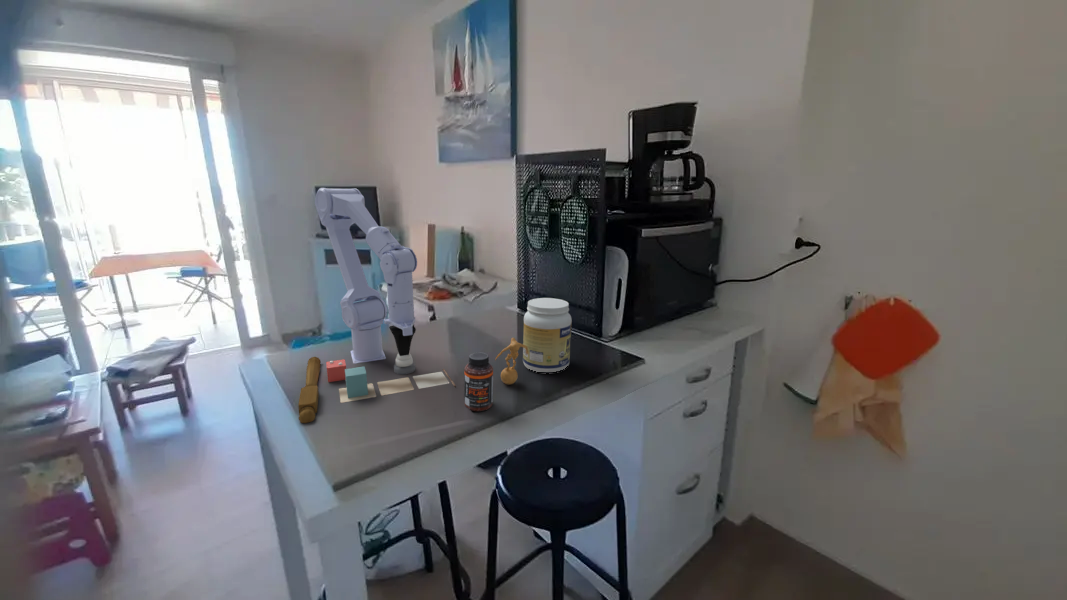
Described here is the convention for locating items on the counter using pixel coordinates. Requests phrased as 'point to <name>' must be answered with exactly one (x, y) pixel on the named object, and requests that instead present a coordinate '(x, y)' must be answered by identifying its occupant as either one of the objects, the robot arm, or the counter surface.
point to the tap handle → (309, 392)
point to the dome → (404, 360)
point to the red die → (336, 370)
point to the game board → (400, 385)
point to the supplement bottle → (478, 382)
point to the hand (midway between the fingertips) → (403, 354)
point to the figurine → (510, 373)
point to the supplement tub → (547, 335)
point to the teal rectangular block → (356, 382)
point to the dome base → (404, 369)
